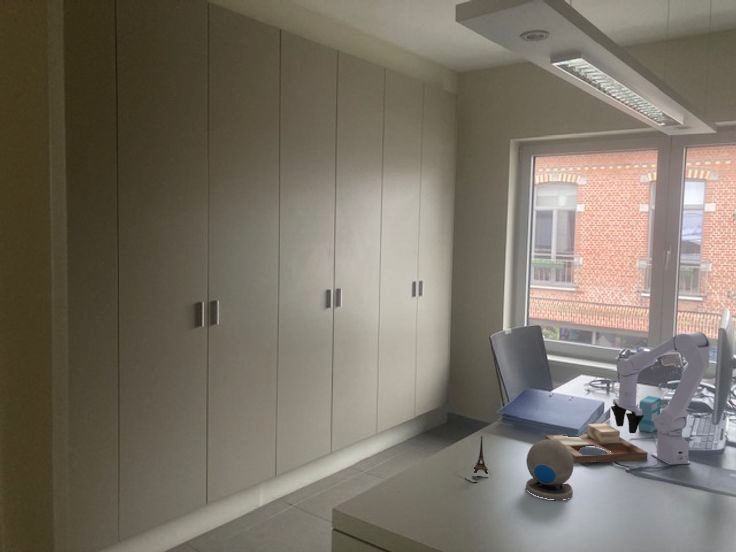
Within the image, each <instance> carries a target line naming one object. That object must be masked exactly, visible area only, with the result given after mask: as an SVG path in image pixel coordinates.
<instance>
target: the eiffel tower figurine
mask: <svg viewBox="0 0 736 552" xmlns="http://www.w3.org/2000/svg"><path fill="white" fill-rule="evenodd" d="M483 437H484V436H482V435H481V436H480V447H479V456H478V458H477V461H476V463H475V467H474V469H475V471H474V473H477V471H478V470H483V471H484V472H485V473H486V474H488V472H487V470H488V471H489V469H488V467H486V465H485V464H486V463H485V461H484V460H485V459H484V452H483ZM481 461H482V462H481Z"/></svg>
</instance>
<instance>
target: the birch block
mask: <svg viewBox="0 0 736 552" xmlns="http://www.w3.org/2000/svg"><path fill="white" fill-rule="evenodd" d="M620 433H621V431H620V430H619V429H617V428H616V427H615V428H614V427H612V426H611V425H609V424H608V423H605V422H604V423H588V424H587V433H586V434H587V435H588V436H590V437H591V438H593V439H595V440H596V441H598V442H600V443H618V442H619V441H620V438H621V437H620V436H621V434H620Z"/></svg>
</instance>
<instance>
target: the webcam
mask: <svg viewBox="0 0 736 552" xmlns="http://www.w3.org/2000/svg"><path fill="white" fill-rule="evenodd" d="M574 464H575V463H574V462H573V458H572V455H571V453H570V451H569V450H568V449H567V448H566V447H565V446H564V445H563V444H561V443H560V442H558V441H555V440H550V439H547V440H545V439H542V440H539V441H537V442H536V443H533V445H532V446H531V447H530V449H529V450H528V452H527V455H526V467H527V470H528V472H529V475H530V476H531V477H532V478H529V479H528V480H527V481H526V483H525V490H526V489H527V490H528V491H529V492H530V493H532V494H534V495H536V496H539V497H543V498H547V499H554V500H563V499H567V500H569V499H568V498H570V497H571V498H572V497H573V496H572V495H573V494H574V493H573V492H574V490H573V487H572V486H571V485H570V484H569V483H568V481H569V479H570V478H571V476H572V475H573V471H574ZM566 482H567V483H566ZM571 498H570V499H571ZM563 501H564V500H563Z"/></svg>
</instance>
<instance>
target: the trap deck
mask: <svg viewBox="0 0 736 552" xmlns="http://www.w3.org/2000/svg"><path fill="white" fill-rule="evenodd" d="M582 434H583V435H581V436H579V437H568V436H563V435H564V434H551V435H550V434H548V435H547V434H546V435H545V439H544V440H547V439H550V440H555V441H558V442H560V443H561V444H563V445H564V446H565V447H566V448H567V449H568V450H569V451H570V453H571V455H572V458H573V463H574V464H575V463H581V464H586V463H585V462H591V461H593V462H594V461H596V462H597V461H599V463H613V462H615V461H616V462H633V461H647V460H648V451H646V450H643V449H642V448H640V447H638V446H637V445H635V444H633V443H631V442H629V441H627V440H626V439H624V438H622V437H620V441H619V442H618V443H600V442H598V441H596V440H595V439H593V438H591V437H590V436H588V435H587V433H582ZM585 446H595V447H599V448H602V449H604V450H605V451H607V454H601V455H582V454H581V453H579V452H578V451H579V450H580V448H582V447H585ZM610 451H611V452H610ZM616 462H615V463H616Z"/></svg>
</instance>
